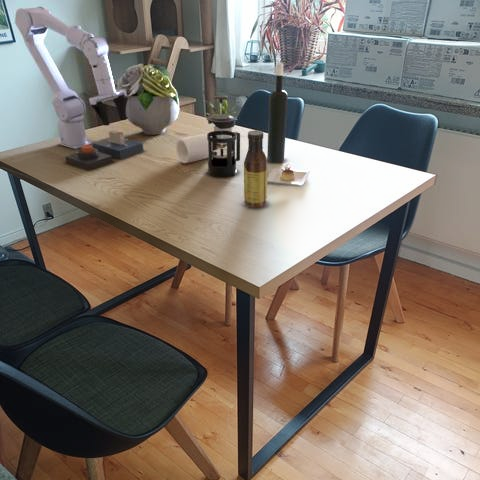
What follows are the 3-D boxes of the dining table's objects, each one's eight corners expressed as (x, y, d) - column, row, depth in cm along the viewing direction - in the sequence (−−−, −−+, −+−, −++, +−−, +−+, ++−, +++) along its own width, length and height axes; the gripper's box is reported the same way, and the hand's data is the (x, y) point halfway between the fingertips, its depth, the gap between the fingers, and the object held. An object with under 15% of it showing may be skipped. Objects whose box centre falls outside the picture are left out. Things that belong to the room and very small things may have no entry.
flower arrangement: (109, 133, 194) (98, 64, 179) (156, 120, 209) (150, 56, 195) (151, 145, 181) (143, 72, 166) (198, 131, 196) (195, 63, 182)
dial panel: (93, 151, 175) (92, 142, 174) (117, 144, 183) (115, 135, 181) (120, 159, 169) (119, 150, 167) (143, 151, 176) (142, 142, 174)
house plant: (196, 139, 188) (194, 93, 178) (229, 134, 193) (229, 89, 183) (210, 149, 178) (209, 101, 168) (245, 144, 182) (245, 97, 173)
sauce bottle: (253, 198, 142) (254, 126, 130) (270, 203, 139) (273, 131, 127) (239, 205, 138) (239, 132, 126) (256, 211, 135) (258, 136, 123)
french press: (215, 180, 153) (213, 101, 140) (200, 171, 159) (197, 95, 146) (246, 172, 158) (247, 96, 145) (230, 164, 165) (230, 90, 151)
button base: (66, 162, 166) (63, 151, 163) (89, 155, 172) (87, 143, 170) (89, 170, 160) (87, 158, 158) (112, 162, 166) (111, 150, 164)
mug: (213, 160, 168) (213, 136, 164) (189, 166, 163) (188, 141, 159) (194, 151, 176) (193, 128, 171) (170, 157, 171) (168, 133, 166)
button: (79, 152, 164) (78, 146, 163) (88, 149, 166) (87, 144, 165) (86, 154, 162) (85, 148, 161) (95, 151, 164) (94, 146, 163)
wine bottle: (265, 162, 167) (268, 63, 149) (269, 156, 171) (273, 60, 154) (281, 163, 166) (287, 64, 148) (285, 158, 170) (291, 61, 152)
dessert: (309, 174, 157) (310, 159, 154) (303, 188, 148) (304, 172, 145) (272, 171, 160) (273, 156, 157) (264, 184, 151) (265, 168, 148)
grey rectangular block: (110, 142, 175) (108, 130, 172) (114, 140, 176) (112, 129, 173) (120, 144, 172) (119, 133, 170) (124, 143, 173) (123, 132, 171)
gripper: (94, 83, 155) (106, 128, 162) (128, 74, 164) (138, 117, 171) (80, 84, 159) (93, 127, 166) (114, 75, 168) (124, 117, 175)
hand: (115, 122), depth 169 cm, fingers open, 7 cm apart
